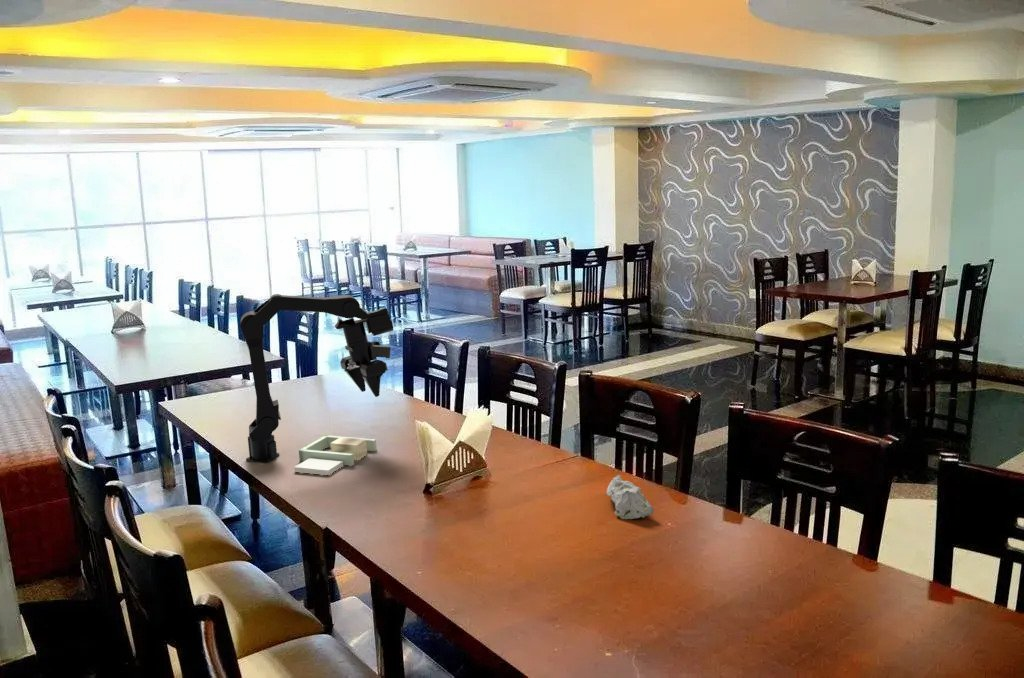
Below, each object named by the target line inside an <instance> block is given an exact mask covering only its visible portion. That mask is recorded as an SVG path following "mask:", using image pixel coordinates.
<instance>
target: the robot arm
mask: <svg viewBox="0 0 1024 678" xmlns="http://www.w3.org/2000/svg"><path fill="white" fill-rule="evenodd" d="M280 311H291V312H292V311H293V312H294V311H295V312H311V313H325V314H329V315H332V316H335V317H341V318H345V320H342V319H341V318H337V319H338V320H337V322H336V323H335V325H334V328H335V329H336V330H340V329H342V331H343V334H344V339H345V343H346V345H345V346H344V349H345V350H346V351H348V354H349V355H347V356H346V357H342V359H340V361H339V362H340V363H339V364H340V367H341V369H342V370H343V371H344V372H345V374H347V375H348V377H349V378H350V379H351V380H352V381H353V383H354V384H355V385H356V386H357V387H358V388H359V390H360V392H366V389H367V388H366V385H367V387H368V388H369V389H370V392H372V394H373V395H374V398H376V397H377V398H378V397H379V396H380V390H381V378H382V376H383V375H384V374H386V371H388V369H389V368H388V365H387V363H386V361H383V360H381V359H378V358H385V359H390V358H391V350H392V347H391V346H388V345H384V344H383V345H381V343H380V341H377V340H376V341H375V340H372V341H369V339H368V336H367V333H368V334H371V335H372V336H373V337H375V336H379V335H383V334H387V333H390V332H394V324H393V321H392V319H391V316H390V313H389V311H388V308H387V307H382V308H379V309H376V310H372V311H369V312H368V311H367V310H366V309H365V308H364V309H363V308H361V303H359V300H357V299H356V298H355V297H354V296H353V295H350V294H339V295H334V296H333V295H332V296H327V297H320V296H319V297H314V296H303V295H284V294H283V295H282V294H279V293H274V294H272V295H271V296H270V297H269V298H268V299H267V300H265V301H264V302H263V303H261V305H259V306H258V307H256V308H255V309H254V310H252V311H251V310H250V311H246V312H245V313H243V315H242V316H241V317H240V331H241V332H242V335H243V338H244V341H245V343H246V346H247V349H248V353H249V358H250V364H251V371H252V379H253V383H254V389H255V396H256V403H255V419H254V420H253V421H252V422H251V423H250V424H249V426H248V436H247V442H248V443H247V444H248V445H247V446H248V454H249V456H248V457H246V458H245V461H247V462H257V463H268V462H270V461H271V460H273V459H275V458H277V457H278V456H280V453H279V452H278V450H277V442H276V440H275V435H274V434H273V432H275V431H276V429H277V428H279V425H280V422H279V421H281V420H282V417H281V416H282V415H281V412H280V409H279V408H280V406H279V400H278V399H275V400H273V398H272V396H271V390H270V384H269V378H268V371H267V366H266V365H267V364H266V359H265V354H264V353H265V352H264V329H265V328H264V327H265V325H266V324H267V323H268V322H269V321H271V320H272V319H273V318H274V317H275V316H276V315H277V314H278V313H279V312H280ZM354 318H357V319H356V320H355V319H354ZM364 323H365V324H364ZM365 326H366V327H365Z"/></svg>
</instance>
